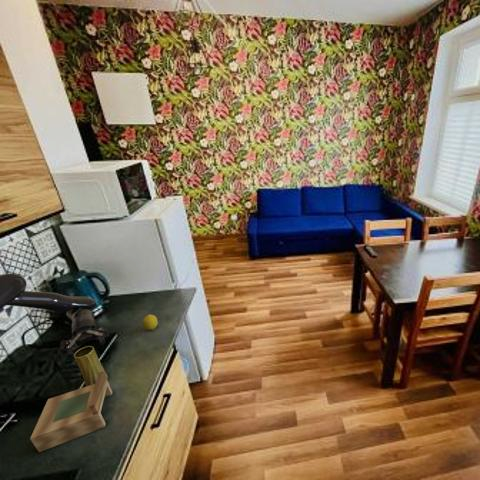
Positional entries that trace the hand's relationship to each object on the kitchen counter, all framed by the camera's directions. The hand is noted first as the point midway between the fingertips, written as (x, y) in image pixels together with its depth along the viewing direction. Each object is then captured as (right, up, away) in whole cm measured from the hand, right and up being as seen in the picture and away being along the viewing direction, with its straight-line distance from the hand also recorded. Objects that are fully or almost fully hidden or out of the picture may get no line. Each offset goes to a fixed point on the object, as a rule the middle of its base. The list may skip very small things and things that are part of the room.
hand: (87, 349), depth 98 cm
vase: (+6, -11, -3) cm, 13 cm away
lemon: (+10, 0, +22) cm, 24 cm away
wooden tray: (+11, -16, -15) cm, 24 cm away
